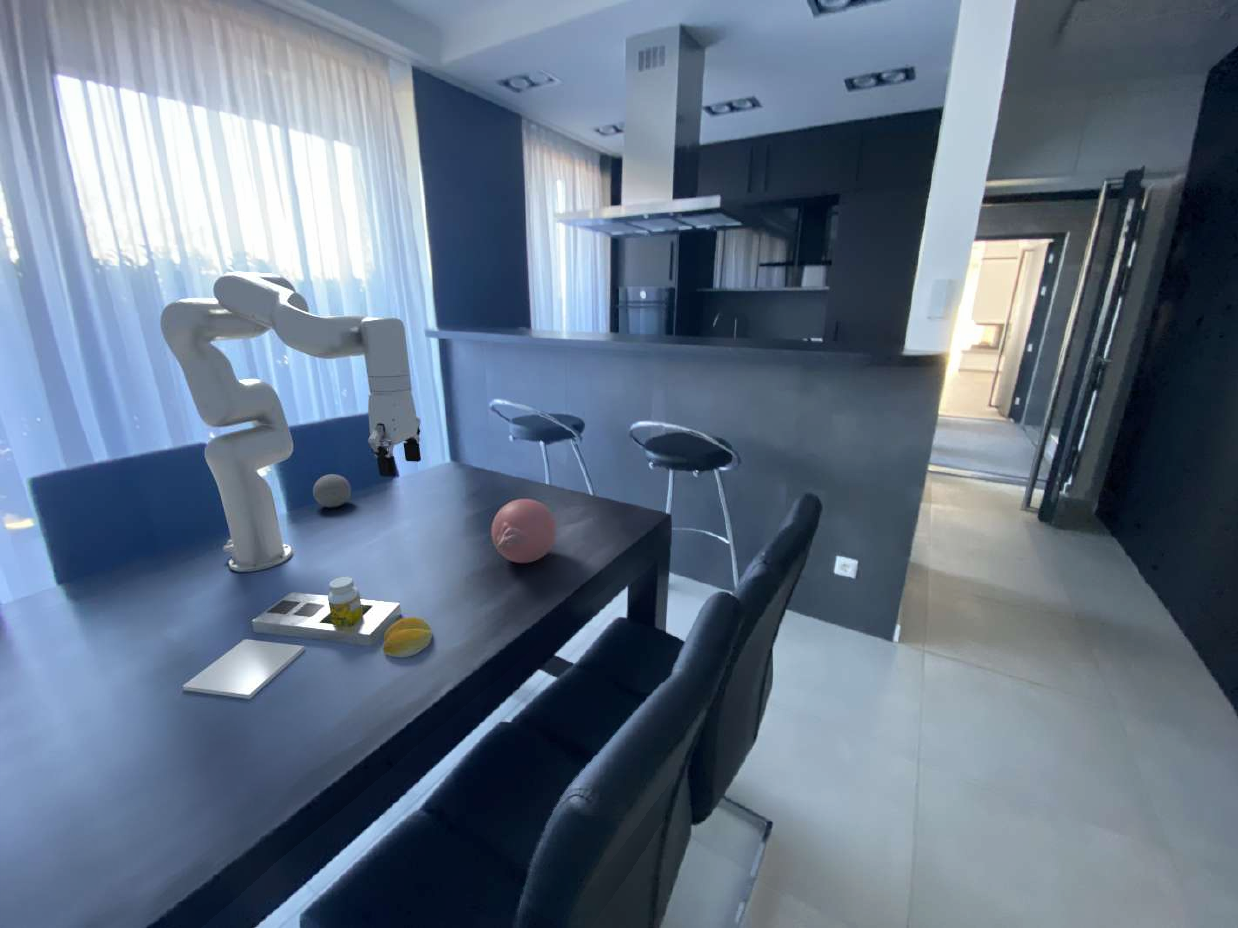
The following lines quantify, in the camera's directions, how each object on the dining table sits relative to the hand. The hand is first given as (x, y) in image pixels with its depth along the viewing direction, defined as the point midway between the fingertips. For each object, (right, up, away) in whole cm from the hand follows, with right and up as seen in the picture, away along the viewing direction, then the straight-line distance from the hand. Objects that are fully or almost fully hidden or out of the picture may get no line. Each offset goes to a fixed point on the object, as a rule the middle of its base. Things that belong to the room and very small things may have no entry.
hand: (401, 468), depth 103 cm
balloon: (+20, -23, +20) cm, 37 cm away
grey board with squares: (-12, -30, -4) cm, 33 cm away
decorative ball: (-42, -12, +51) cm, 68 cm away
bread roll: (+5, -33, -9) cm, 34 cm away
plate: (-19, -34, -16) cm, 43 cm away
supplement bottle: (-8, -31, -4) cm, 32 cm away
